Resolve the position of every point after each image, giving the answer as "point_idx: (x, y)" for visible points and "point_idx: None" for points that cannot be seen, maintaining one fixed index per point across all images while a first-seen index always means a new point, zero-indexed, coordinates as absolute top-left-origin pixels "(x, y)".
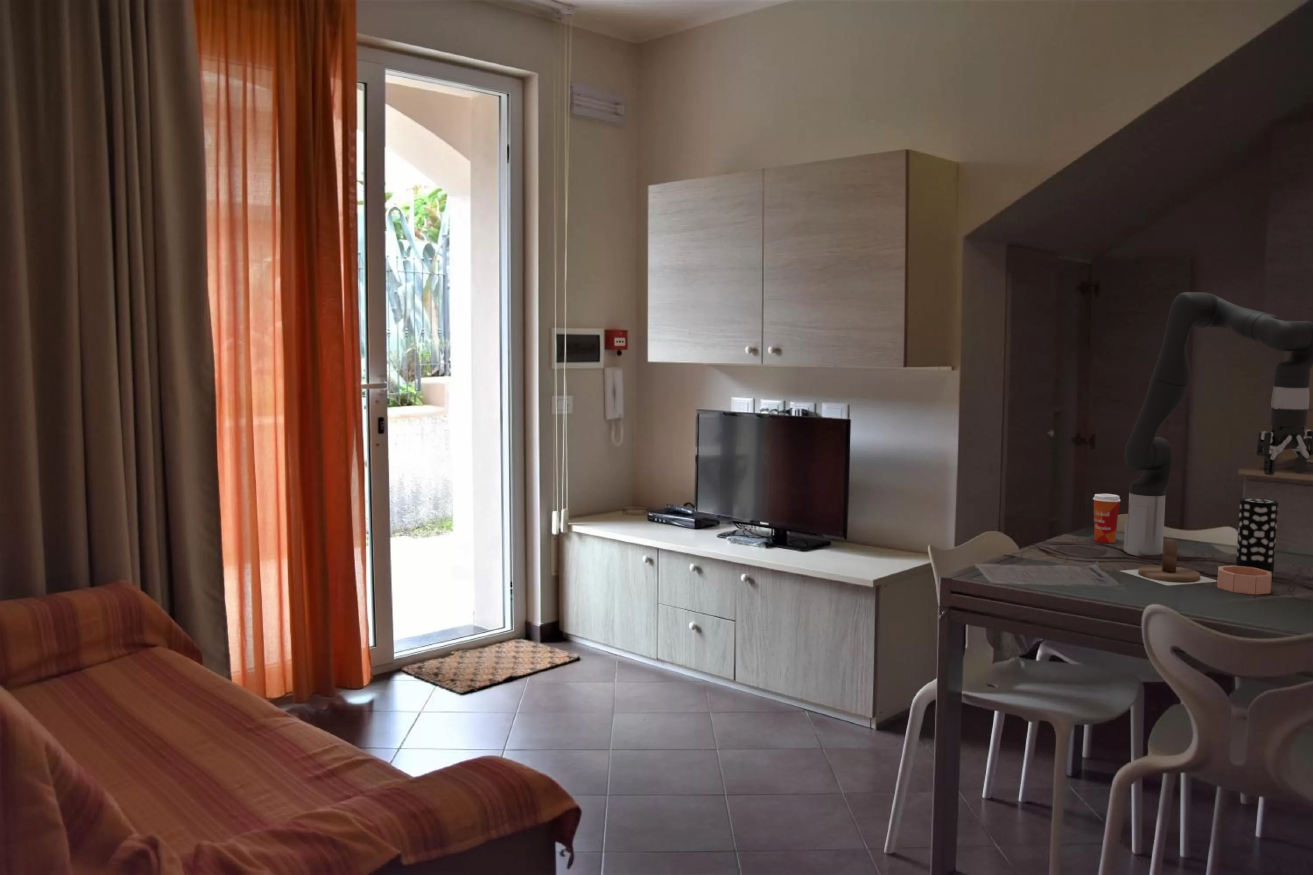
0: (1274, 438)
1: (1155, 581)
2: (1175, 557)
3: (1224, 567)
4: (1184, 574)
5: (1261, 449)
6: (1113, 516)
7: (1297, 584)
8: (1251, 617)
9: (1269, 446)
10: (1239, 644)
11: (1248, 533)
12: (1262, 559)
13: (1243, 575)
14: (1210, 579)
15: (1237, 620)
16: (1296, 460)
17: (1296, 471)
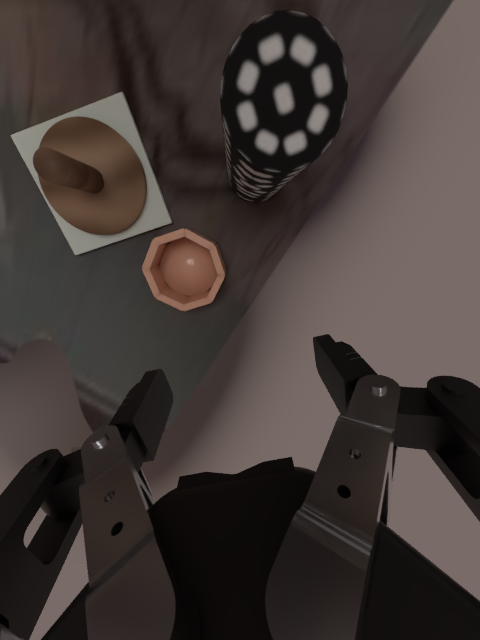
0: (83, 635)
1: (62, 228)
2: (82, 186)
3: (162, 243)
4: (112, 207)
5: (30, 506)
6: None
7: (301, 217)
8: None
9: (51, 581)
10: None
11: (231, 168)
12: (254, 197)
13: (167, 303)
14: (161, 209)
15: (120, 396)
16: (336, 374)
17: (315, 346)
